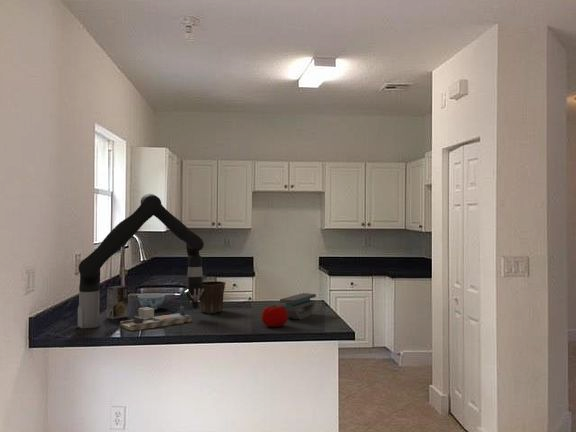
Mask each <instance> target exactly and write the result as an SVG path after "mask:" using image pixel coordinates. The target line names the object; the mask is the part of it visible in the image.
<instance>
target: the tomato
mask: <svg viewBox="0 0 576 432" xmlns="http://www.w3.org/2000/svg"><path fill="white" fill-rule="evenodd" d="M287 317H288V316H287V311H286V309H285V308H284V307H281V305H279V306H278V305H277V304H275V305H271V306H267V307H265V308H264V309H263V310H262V312H261V320H262V323H263V325H265V326H266V327H269V328H279V327H283V326H284V325H285V324H286V323H287V321H288V318H287Z"/></svg>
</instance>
